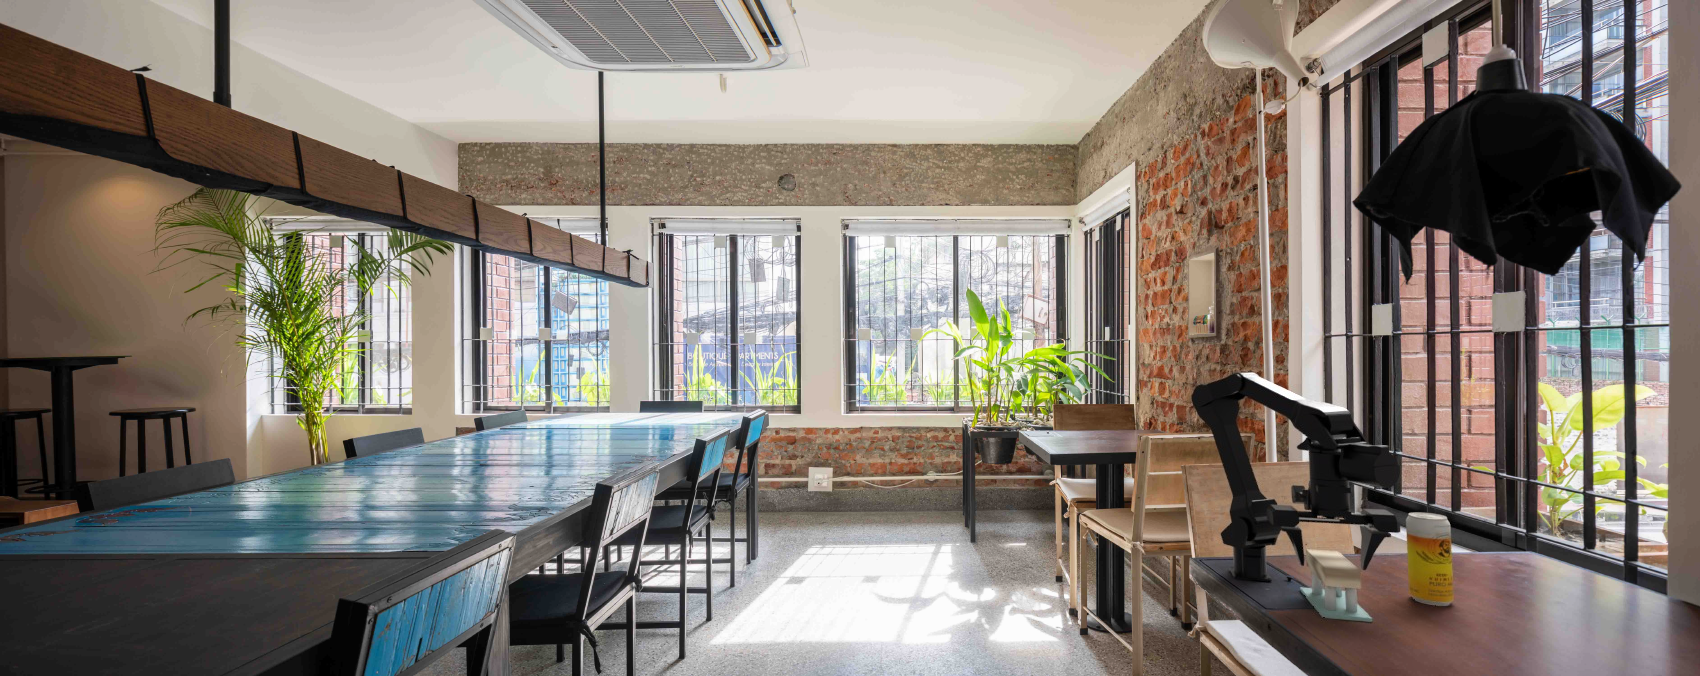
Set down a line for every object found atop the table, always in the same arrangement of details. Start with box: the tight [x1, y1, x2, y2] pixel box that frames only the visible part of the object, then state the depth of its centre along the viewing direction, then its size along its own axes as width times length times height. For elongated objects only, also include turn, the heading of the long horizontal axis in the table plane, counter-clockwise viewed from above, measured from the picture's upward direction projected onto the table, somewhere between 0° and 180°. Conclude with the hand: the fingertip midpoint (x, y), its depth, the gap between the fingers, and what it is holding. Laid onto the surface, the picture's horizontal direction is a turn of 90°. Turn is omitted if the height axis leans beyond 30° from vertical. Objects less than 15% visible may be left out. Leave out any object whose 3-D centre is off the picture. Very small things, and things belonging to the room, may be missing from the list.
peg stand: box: [1299, 570, 1373, 623], centre depth 123 cm, size 14×7×5 cm, turn 160°
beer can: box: [1405, 511, 1454, 607], centre depth 124 cm, size 6×6×15 cm
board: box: [1305, 548, 1362, 589], centre depth 123 cm, size 12×5×3 cm, turn 160°
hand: (1332, 567), depth 123 cm, fingers open, 9 cm apart
